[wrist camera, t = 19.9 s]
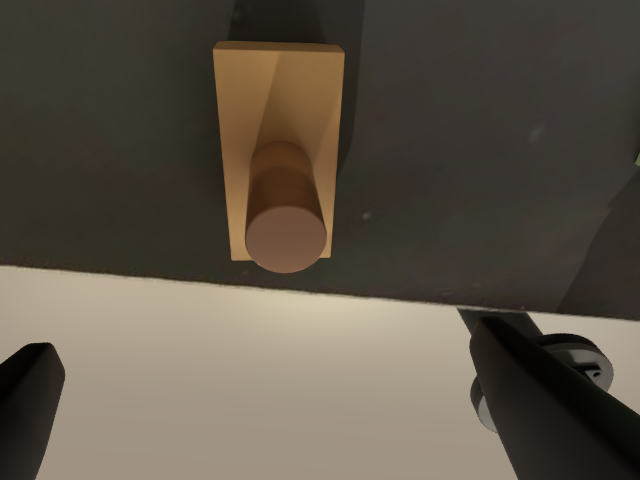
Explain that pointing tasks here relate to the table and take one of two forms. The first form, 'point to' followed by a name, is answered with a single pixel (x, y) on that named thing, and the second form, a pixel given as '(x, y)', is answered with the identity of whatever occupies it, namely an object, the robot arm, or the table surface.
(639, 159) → the tray
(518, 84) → the table surface
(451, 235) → the table surface
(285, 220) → the brush
